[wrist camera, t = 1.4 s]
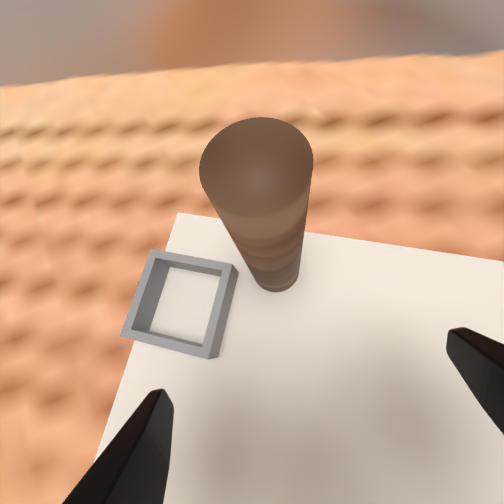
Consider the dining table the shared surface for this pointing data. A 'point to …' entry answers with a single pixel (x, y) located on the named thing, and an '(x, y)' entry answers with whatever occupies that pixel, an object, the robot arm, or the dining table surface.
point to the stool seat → (314, 373)
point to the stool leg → (261, 194)
